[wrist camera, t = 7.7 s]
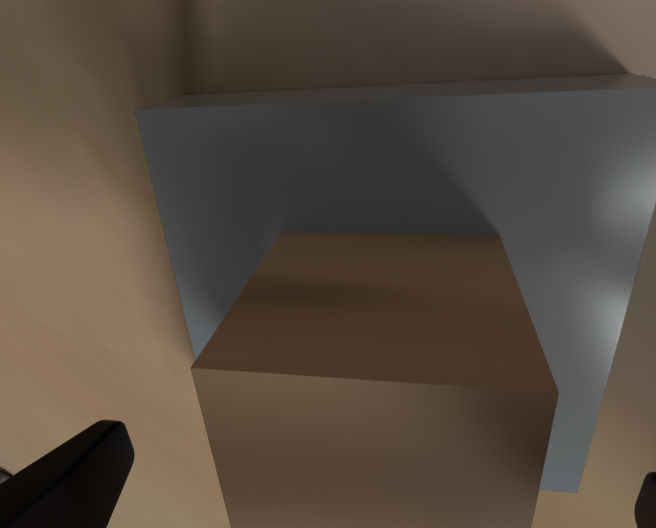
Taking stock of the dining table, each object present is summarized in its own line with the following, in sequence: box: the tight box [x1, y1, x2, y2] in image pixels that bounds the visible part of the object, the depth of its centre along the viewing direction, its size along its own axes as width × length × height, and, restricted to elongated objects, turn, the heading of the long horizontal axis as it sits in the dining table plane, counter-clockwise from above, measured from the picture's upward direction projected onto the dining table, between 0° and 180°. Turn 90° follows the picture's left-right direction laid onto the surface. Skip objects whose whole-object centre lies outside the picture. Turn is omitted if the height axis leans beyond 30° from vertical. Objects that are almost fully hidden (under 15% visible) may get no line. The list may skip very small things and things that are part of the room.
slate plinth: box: [135, 73, 656, 493], centre depth 13 cm, size 11×11×2 cm
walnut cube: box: [191, 233, 559, 528], centre depth 10 cm, size 5×5×5 cm
